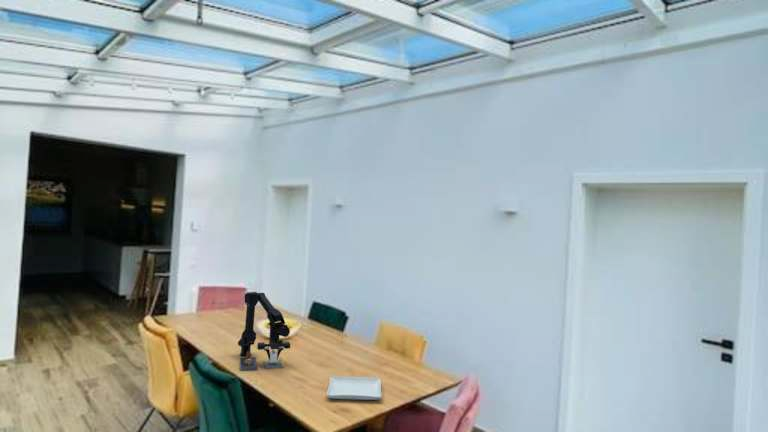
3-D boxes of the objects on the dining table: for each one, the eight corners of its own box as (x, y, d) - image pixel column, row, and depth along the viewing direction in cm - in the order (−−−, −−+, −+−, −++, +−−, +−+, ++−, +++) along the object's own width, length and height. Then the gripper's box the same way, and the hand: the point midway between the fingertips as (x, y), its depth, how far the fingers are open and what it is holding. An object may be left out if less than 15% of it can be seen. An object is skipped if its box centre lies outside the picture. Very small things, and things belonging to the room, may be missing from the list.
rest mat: (263, 361, 277) (263, 360, 277) (280, 361, 280) (280, 360, 280) (264, 368, 265) (265, 367, 265) (282, 367, 268) (282, 366, 268)
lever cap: (269, 359, 275) (269, 349, 275) (276, 359, 276) (276, 349, 276) (270, 362, 269) (270, 352, 269) (276, 362, 270) (277, 352, 270)
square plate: (380, 384, 251) (380, 377, 251) (381, 404, 223) (382, 396, 224) (330, 382, 250) (330, 375, 250) (325, 402, 223) (326, 394, 223)
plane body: (240, 362, 274) (240, 351, 275) (255, 361, 277) (256, 350, 277) (240, 370, 259) (241, 359, 259) (257, 369, 262) (257, 358, 262)
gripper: (259, 337, 262) (257, 365, 262) (292, 336, 268) (290, 363, 268) (258, 332, 273) (256, 359, 273) (289, 331, 279) (288, 357, 279)
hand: (273, 359), depth 273 cm, fingers closed on lever cap, 4 cm apart
